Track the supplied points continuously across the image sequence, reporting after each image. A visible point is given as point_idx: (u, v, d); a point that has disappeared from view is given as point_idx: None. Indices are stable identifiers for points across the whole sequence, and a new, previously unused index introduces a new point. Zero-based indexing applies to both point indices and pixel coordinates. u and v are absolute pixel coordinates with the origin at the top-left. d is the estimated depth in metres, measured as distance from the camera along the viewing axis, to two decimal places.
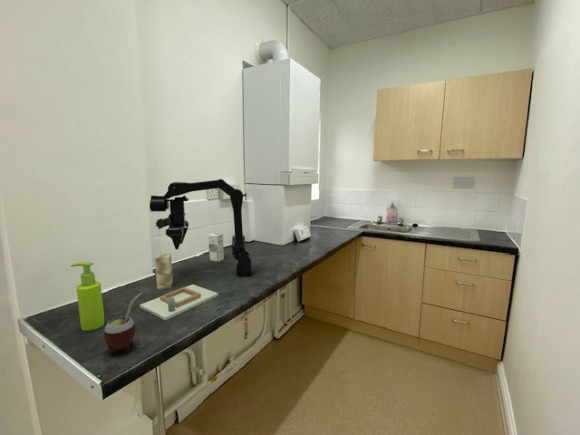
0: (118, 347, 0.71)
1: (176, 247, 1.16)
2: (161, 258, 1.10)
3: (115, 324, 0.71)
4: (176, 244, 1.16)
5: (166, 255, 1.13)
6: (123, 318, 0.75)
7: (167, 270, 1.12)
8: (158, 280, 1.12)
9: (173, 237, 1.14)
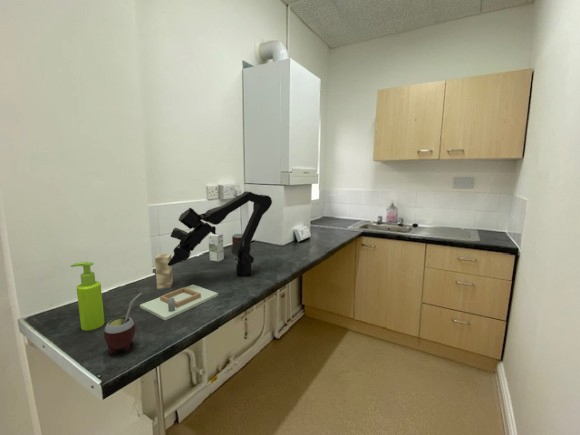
0: (118, 347, 0.71)
1: (169, 263, 1.09)
2: (161, 258, 1.10)
3: (115, 324, 0.71)
4: (171, 261, 1.09)
5: (166, 255, 1.13)
6: (123, 318, 0.75)
7: (167, 270, 1.12)
8: (158, 280, 1.12)
9: (176, 254, 1.08)
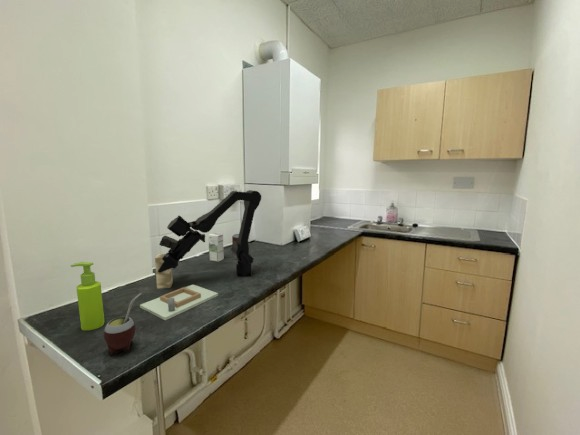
0: (118, 347, 0.71)
1: (160, 270, 1.10)
2: (161, 258, 1.10)
3: (115, 324, 0.71)
4: (162, 268, 1.10)
5: None
6: (123, 318, 0.75)
7: (167, 270, 1.12)
8: (158, 280, 1.12)
9: (166, 261, 1.09)
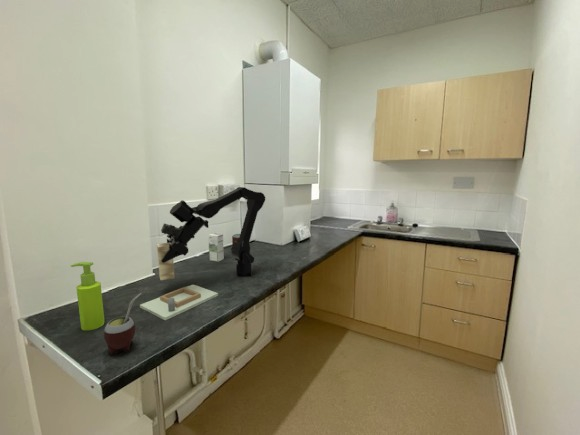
0: (118, 347, 0.71)
1: (164, 260, 1.04)
2: (165, 247, 1.04)
3: (115, 324, 0.71)
4: (166, 257, 1.04)
5: (167, 244, 1.07)
6: (123, 318, 0.75)
7: (171, 259, 1.05)
8: (162, 271, 1.04)
9: (171, 250, 1.03)
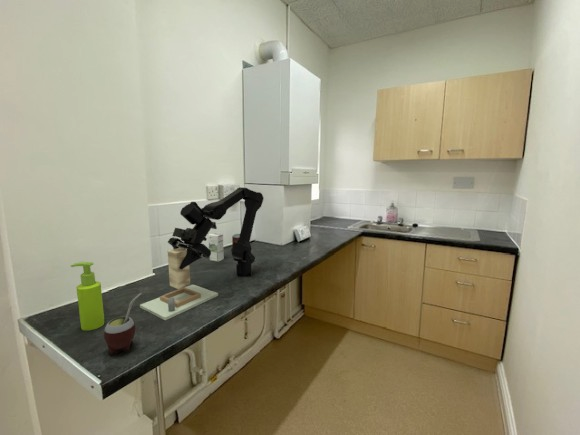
0: (118, 347, 0.71)
1: (182, 266, 0.97)
2: (182, 253, 0.97)
3: (115, 324, 0.71)
4: (184, 263, 0.97)
5: (180, 249, 0.99)
6: (123, 318, 0.75)
7: None
8: (179, 278, 0.97)
9: (190, 254, 0.98)
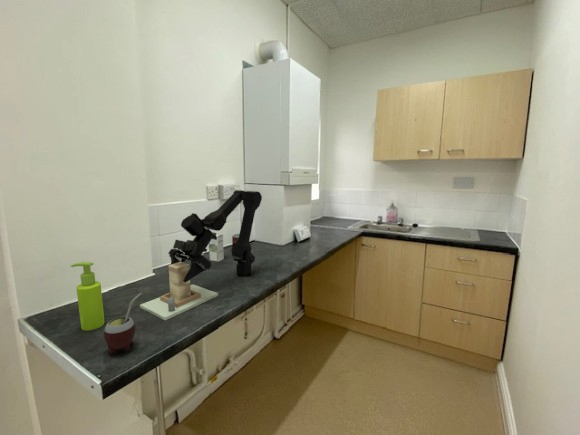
0: (118, 347, 0.71)
1: (186, 279, 0.96)
2: (183, 267, 0.98)
3: (115, 324, 0.71)
4: (188, 276, 0.97)
5: (181, 263, 1.00)
6: (123, 318, 0.75)
7: None
8: (180, 293, 0.98)
9: (194, 267, 0.97)
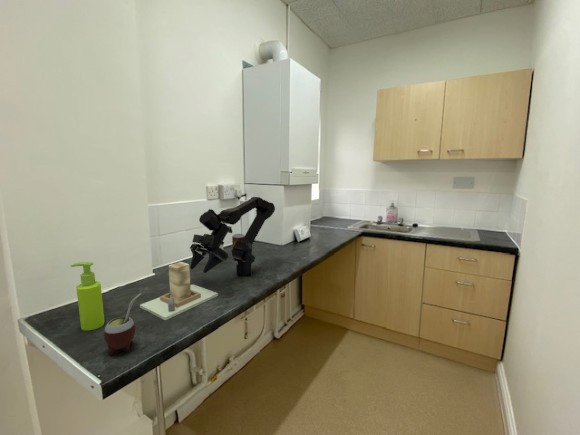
0: (118, 347, 0.71)
1: (206, 270, 1.04)
2: (183, 267, 0.98)
3: (115, 324, 0.71)
4: (207, 267, 1.04)
5: (181, 263, 1.00)
6: (123, 318, 0.75)
7: (188, 279, 1.00)
8: (180, 293, 0.98)
9: (212, 259, 1.05)
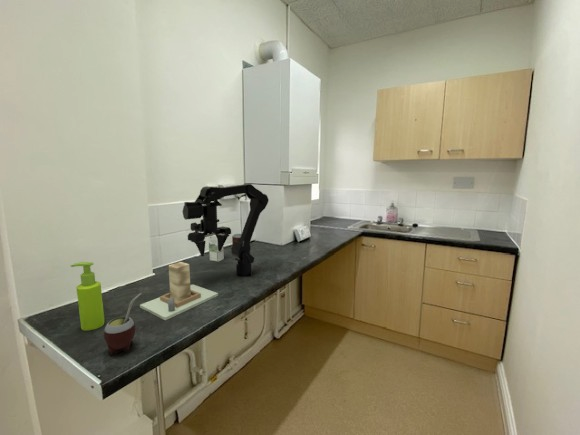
0: (118, 347, 0.71)
1: (201, 254, 1.12)
2: (183, 267, 0.98)
3: (115, 324, 0.71)
4: (200, 251, 1.12)
5: (181, 263, 1.00)
6: (123, 318, 0.75)
7: (188, 279, 1.00)
8: (180, 293, 0.98)
9: (197, 243, 1.11)
